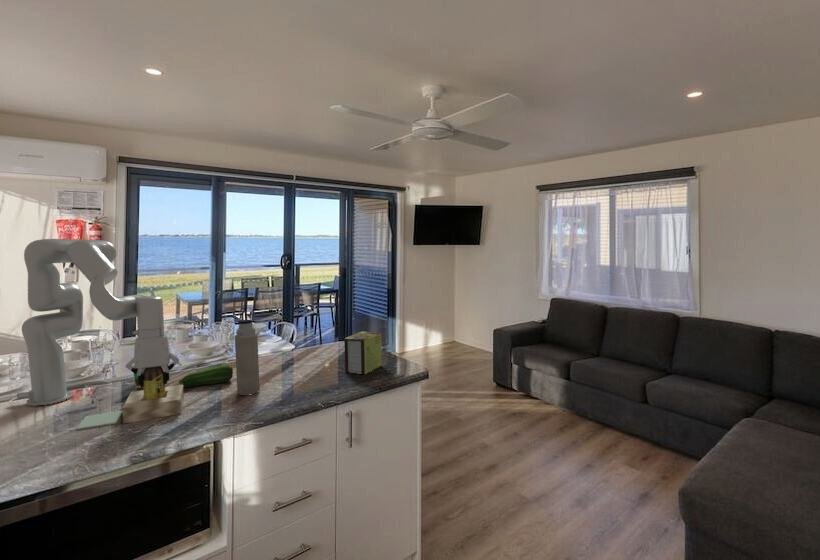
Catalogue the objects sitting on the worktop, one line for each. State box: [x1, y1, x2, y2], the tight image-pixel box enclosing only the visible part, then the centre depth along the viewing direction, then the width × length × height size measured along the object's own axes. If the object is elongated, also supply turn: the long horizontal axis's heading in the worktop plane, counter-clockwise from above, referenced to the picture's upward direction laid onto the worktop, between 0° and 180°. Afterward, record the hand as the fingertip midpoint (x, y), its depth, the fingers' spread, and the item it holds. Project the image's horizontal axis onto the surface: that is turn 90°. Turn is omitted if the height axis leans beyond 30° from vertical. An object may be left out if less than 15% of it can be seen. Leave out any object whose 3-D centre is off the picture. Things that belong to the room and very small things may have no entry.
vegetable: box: [178, 364, 234, 388], centre depth 164 cm, size 7×7×20 cm
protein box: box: [343, 331, 382, 375], centre depth 182 cm, size 10×15×16 cm
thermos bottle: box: [234, 319, 261, 396], centre depth 154 cm, size 8×8×28 cm
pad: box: [76, 410, 123, 431], centre depth 131 cm, size 10×10×1 cm
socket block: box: [121, 384, 185, 424], centre depth 139 cm, size 16×16×5 cm
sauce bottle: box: [143, 366, 166, 401], centre depth 138 cm, size 6×6×20 cm
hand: (154, 384), depth 138 cm, fingers closed on sauce bottle, 6 cm apart
